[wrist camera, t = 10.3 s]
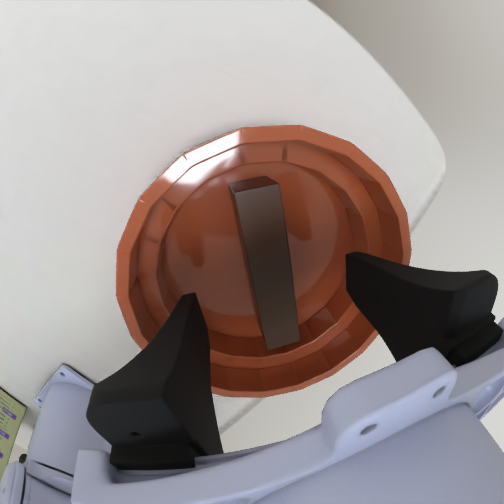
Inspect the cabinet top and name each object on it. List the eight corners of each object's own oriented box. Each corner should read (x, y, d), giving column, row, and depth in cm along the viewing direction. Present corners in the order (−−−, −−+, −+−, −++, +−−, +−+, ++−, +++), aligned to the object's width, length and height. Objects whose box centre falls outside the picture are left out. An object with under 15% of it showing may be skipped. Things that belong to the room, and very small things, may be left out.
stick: (288, 316, 18) (300, 341, 15) (258, 324, 17) (266, 350, 15) (266, 175, 14) (279, 183, 12) (227, 183, 14) (233, 192, 11)
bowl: (248, 375, 20) (259, 422, 16) (91, 254, 14) (60, 294, 10) (397, 256, 18) (436, 285, 14) (276, 77, 12) (307, 56, 8)
